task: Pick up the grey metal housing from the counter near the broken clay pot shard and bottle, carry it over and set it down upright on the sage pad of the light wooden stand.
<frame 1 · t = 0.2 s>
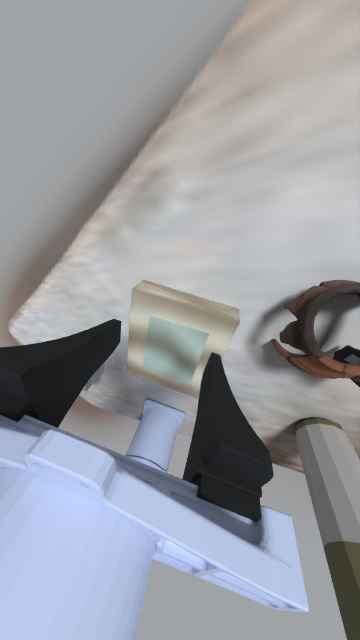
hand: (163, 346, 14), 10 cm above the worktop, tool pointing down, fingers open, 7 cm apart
broken clay pot shard: (320, 325, 20), on the worktop
bottle: (316, 426, 28), on the worktop
stand: (178, 338, 26), on the worktop
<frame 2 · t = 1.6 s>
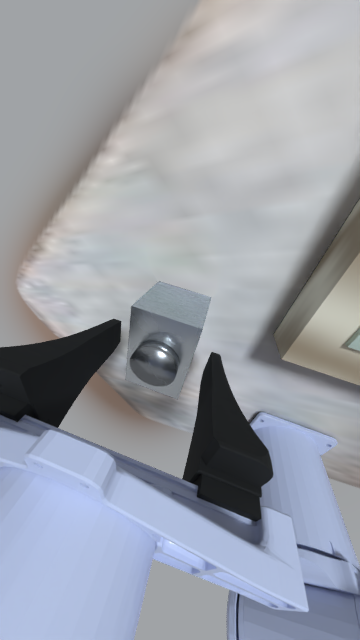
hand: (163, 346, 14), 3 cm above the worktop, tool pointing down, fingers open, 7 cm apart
housing: (176, 322, 17), on the worktop
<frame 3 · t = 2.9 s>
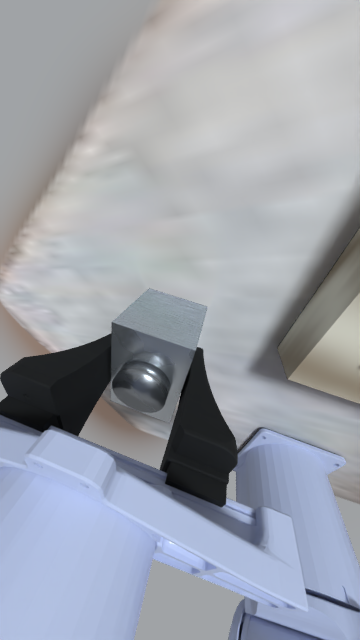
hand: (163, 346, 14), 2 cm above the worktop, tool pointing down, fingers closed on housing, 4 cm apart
housing: (169, 334, 15), on the worktop, touching gripper
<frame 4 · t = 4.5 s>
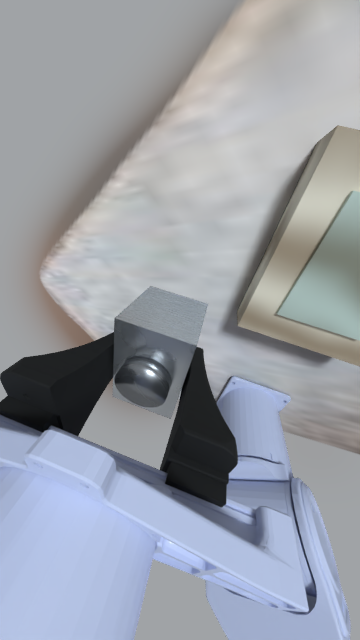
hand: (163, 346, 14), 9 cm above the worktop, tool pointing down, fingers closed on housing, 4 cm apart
housing: (170, 331, 15), point 7 cm above the worktop, touching gripper
stand: (335, 266, 16), on the worktop
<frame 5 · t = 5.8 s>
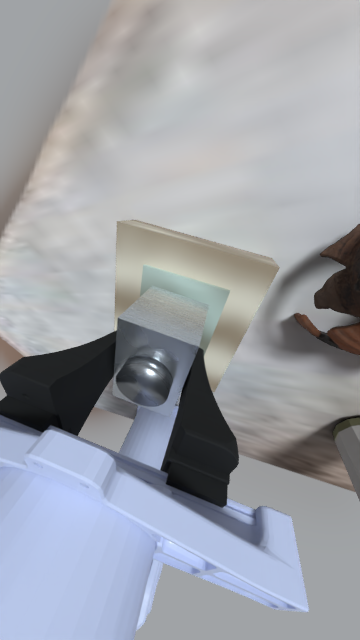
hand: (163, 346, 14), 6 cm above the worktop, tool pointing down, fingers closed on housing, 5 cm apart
housing: (170, 331, 16), point 4 cm above the worktop, touching gripper
stand: (182, 308, 19), on the worktop
when the fingers open (6 cm above the worktop, at t = 6.5 s): housing drops 1 cm, resting on stand.
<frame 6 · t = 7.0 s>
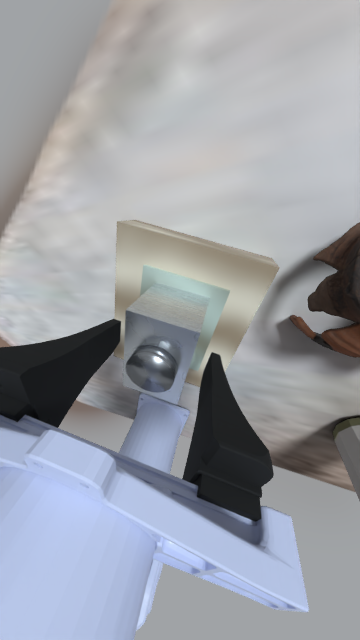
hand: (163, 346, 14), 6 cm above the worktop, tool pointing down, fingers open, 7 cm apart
housing: (174, 325, 16), point 3 cm above the worktop, touching stand
broken clay pot shard: (358, 292, 15), on the worktop
stand: (182, 308, 19), on the worktop
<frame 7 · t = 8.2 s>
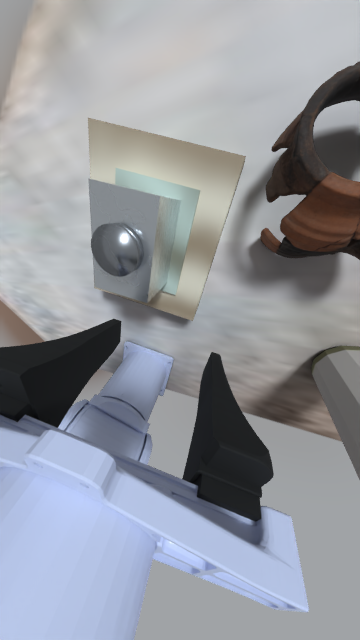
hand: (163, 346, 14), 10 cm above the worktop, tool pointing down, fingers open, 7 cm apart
housing: (149, 239, 17), point 3 cm above the worktop, touching stand
broken clay pot shard: (322, 202, 15), on the worktop
bottle: (339, 362, 22), on the worktop
stand: (161, 235, 19), on the worktop
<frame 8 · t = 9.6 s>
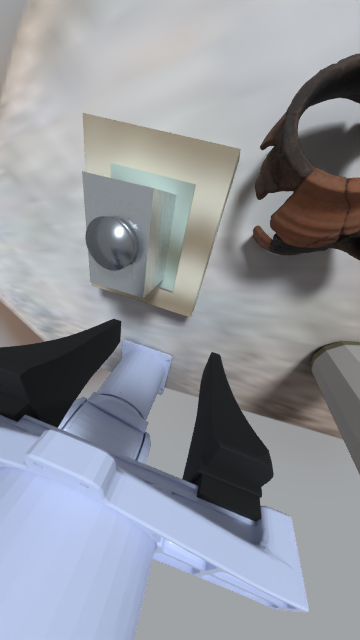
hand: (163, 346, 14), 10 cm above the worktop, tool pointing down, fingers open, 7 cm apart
housing: (146, 235, 17), point 3 cm above the worktop, touching stand
broken clay pot shard: (313, 199, 15), on the worktop
bottle: (338, 358, 22), on the worktop
stand: (158, 231, 19), on the worktop
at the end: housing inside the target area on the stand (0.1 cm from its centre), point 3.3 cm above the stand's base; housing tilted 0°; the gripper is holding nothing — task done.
